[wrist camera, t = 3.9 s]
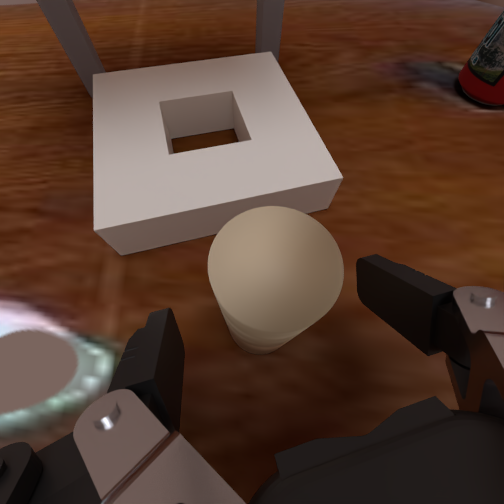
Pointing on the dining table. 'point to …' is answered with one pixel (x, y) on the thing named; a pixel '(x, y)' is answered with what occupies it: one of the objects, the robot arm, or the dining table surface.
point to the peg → (273, 275)
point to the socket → (201, 150)
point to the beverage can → (486, 68)
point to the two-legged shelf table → (85, 56)
